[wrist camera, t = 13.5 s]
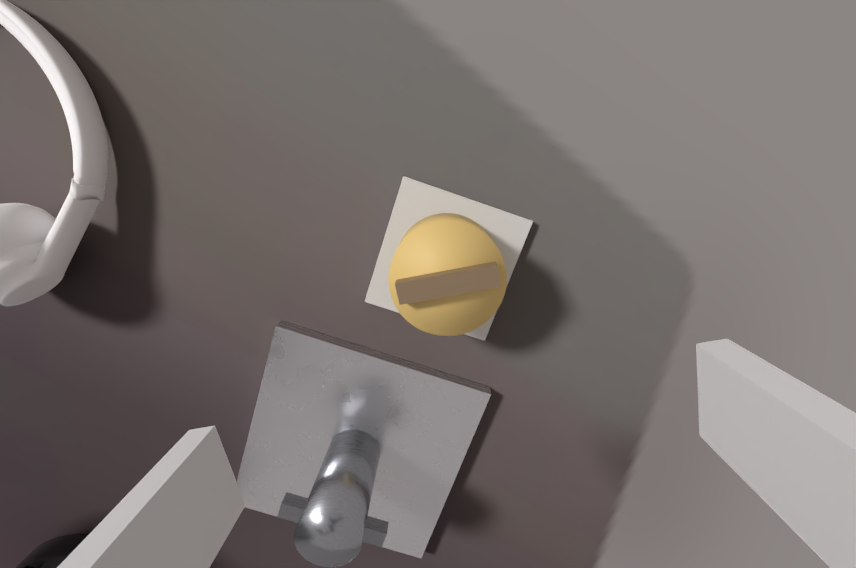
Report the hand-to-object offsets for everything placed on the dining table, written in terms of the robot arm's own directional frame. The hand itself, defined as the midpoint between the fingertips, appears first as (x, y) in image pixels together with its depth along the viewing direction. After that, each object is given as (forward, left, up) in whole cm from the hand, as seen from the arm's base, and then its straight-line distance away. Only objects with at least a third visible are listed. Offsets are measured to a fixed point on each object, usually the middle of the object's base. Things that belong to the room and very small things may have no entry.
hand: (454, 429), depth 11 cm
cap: (0, 0, -21) cm, 21 cm away
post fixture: (-18, +2, -21) cm, 28 cm away
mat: (0, 0, -21) cm, 21 cm away
